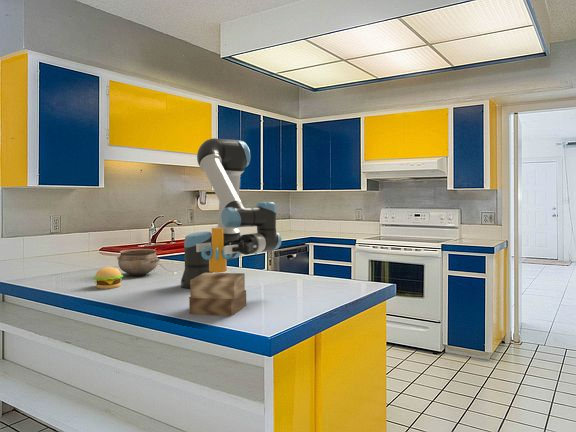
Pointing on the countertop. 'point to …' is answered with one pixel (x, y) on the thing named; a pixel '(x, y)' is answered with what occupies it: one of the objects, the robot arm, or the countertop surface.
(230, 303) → the tower base
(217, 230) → the orange tall piece
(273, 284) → the countertop surface
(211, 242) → the robot arm
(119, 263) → the cooking pot
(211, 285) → the tower top
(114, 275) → the hamburger
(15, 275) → the countertop surface
